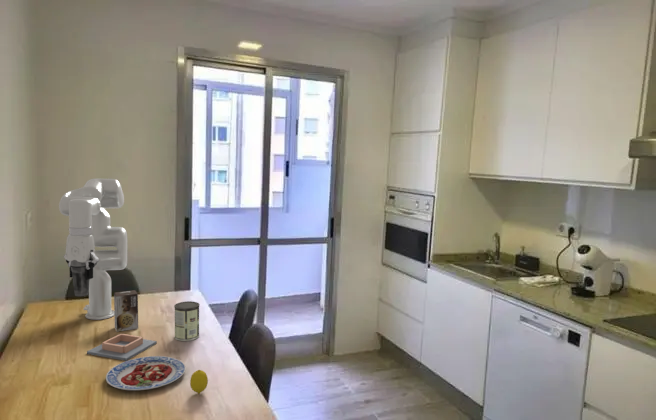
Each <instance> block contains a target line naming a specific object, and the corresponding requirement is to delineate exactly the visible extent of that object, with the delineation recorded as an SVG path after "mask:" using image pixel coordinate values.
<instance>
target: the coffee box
mask: <svg viewBox="0 0 656 420" xmlns="http://www.w3.org/2000/svg"><path fill="white" fill-rule="evenodd" d="M113 305H114V307H113V308H114V310H113V311H114V316H113V317H114V329H115V332H116V333H118V332H123V331H124V332H125V331H129V330H138V329H139V295H138V292H137V291H136V290H135V289H134V290H126V291H117V292H114V293H113Z"/></svg>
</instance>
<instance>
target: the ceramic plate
mask: <svg viewBox="0 0 656 420" xmlns="http://www.w3.org/2000/svg"><path fill="white" fill-rule="evenodd" d="M184 373H186V365H185V363H184V362H183V361H181V360H179V359H177V358H174V357H172V356H171V357H170V356H163V355H157V356H156V355H153V356H152V355H151V356H142V357H136V358H133V359H132V358H131V359H129V360H127V361H123V362H121V363H119V364H117V365H115V366H113V367H112V368H110V369H109V370H108V372H106V375H105V381H106V383H107V384H108V385H110V386H111V387H114V388H116V389H119V390H125V391H144V390H152V389H156V388H160V387H164V386H167V385H169V384H171V383H173V382H175V381H177V380H179V379H180V378H181V377H182V376H183V375H184Z"/></svg>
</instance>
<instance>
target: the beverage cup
mask: <svg viewBox="0 0 656 420" xmlns="http://www.w3.org/2000/svg"><path fill="white" fill-rule="evenodd" d="M88 261H89V260H88ZM88 264H89V265H90V262H89V263H88ZM70 267H71V271H72V277H71V278H72V284H73V285H72V286H73V291H74V296H75V297H86V296H89V281H90V279H88V280H86V279H85V269H87V268H86V266H85V263H80V262H78V261H77V260H73V261H71V265H70ZM70 267H69V268H70Z"/></svg>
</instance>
